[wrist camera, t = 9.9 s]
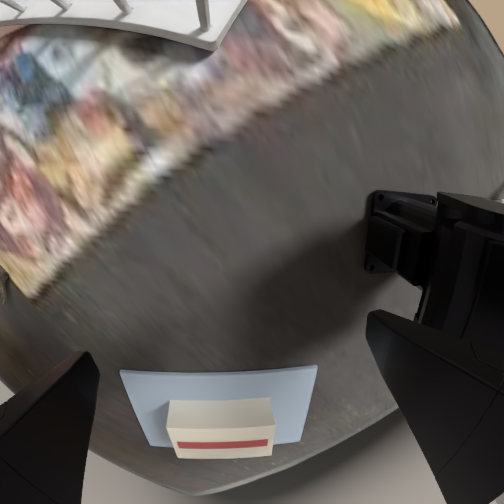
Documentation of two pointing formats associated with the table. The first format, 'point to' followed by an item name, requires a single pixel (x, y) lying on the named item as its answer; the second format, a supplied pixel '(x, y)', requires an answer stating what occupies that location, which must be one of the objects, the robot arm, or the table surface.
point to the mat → (221, 396)
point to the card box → (221, 428)
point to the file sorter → (133, 16)
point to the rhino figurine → (3, 284)
